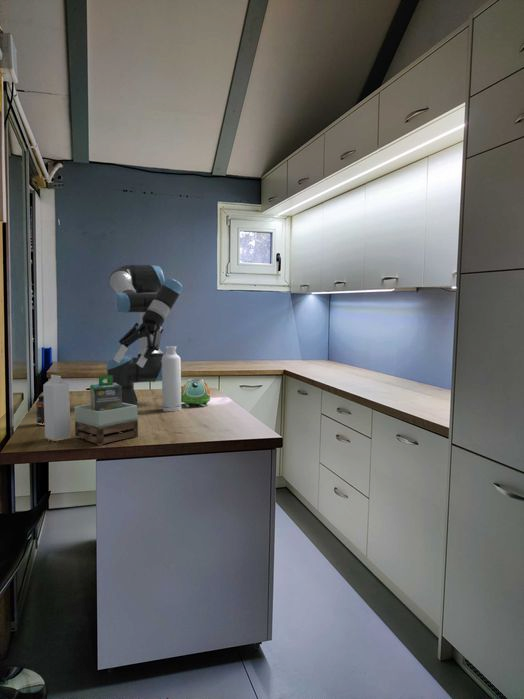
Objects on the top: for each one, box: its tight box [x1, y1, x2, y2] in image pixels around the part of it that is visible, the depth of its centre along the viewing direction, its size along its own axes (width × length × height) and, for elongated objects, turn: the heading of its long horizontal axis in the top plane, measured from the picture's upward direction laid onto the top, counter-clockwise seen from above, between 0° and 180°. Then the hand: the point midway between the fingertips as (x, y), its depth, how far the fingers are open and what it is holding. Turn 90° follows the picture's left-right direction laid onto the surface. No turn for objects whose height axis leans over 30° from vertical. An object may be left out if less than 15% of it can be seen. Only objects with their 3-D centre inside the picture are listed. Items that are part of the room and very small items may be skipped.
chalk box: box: [89, 375, 122, 412], centre depth 173 cm, size 9×9×15 cm
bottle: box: [161, 345, 182, 412], centre depth 222 cm, size 8×8×28 cm
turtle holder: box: [181, 378, 211, 408], centre depth 233 cm, size 12×18×12 cm
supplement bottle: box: [35, 394, 45, 424], centre depth 194 cm, size 6×6×11 cm
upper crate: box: [74, 403, 139, 427], centre depth 173 cm, size 15×15×5 cm
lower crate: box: [74, 419, 139, 446], centre depth 174 cm, size 15×15×6 cm
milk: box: [42, 374, 71, 440], centre depth 171 cm, size 6×6×22 cm
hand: (127, 363), depth 179 cm, fingers open, 13 cm apart
